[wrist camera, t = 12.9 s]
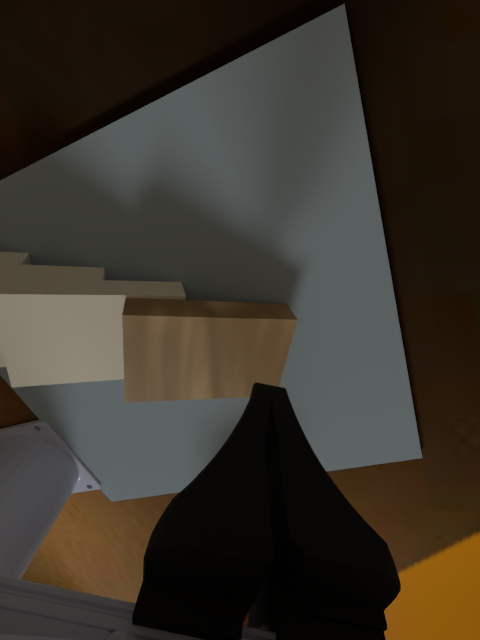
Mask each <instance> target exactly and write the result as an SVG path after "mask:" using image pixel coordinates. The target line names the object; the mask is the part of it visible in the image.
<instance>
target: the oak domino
mask: <svg viewBox="0 0 480 640" xmlns="http://www.w3.org/2000/svg"><path fill="white" fill-rule="evenodd" d="M297 321H298V319H297V318H296V317H295V315H294V314H293V312H292V311H291V309H290V308H289V307H288V305H287V304H270V303H245V302H221V301H196V300H171V299H146V298H125V303H124V308H123V314H122V325H123V357H124V389H125V403H126V402H149V401H173V400H197V399H220V398H244V397H250V396H251V392H252V387H253V384H254V383H256V382H257V383H262V384H268V385H273V386H278V387H279V384H280V380H281V377H282V373H283V370H284V366H285V363H286V359H287V356H288V352H289V349H290V345H291V342H292V338H293V335H294V332H295V328H296V325H297Z"/></svg>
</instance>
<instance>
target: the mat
mask: <svg viewBox="0 0 480 640" xmlns="http://www.w3.org/2000/svg"><path fill="white" fill-rule="evenodd" d="M0 252H20V253H29V255H30V261H31V265H47V266H74V267H101V268H105V280H117V281H162V282H181V283H182V286H183V289H184V292H185V295H186V299H185V300H196V301H221V302H245V303H270V304H287V305H288V307H289V308H290V309H291V311H292V312H293V314H294V315H295V317H296V318H297V319H298V321H297V325H296V328H295V332H294V335H293V338H292V342H291V345H290V349H289V352H288V356H287V359H286V363H285V366H284V370H283V373H282V377H281V380H280V384H279V387H283V388H285V389H286V390H287V393H288V396H289V399H290V402H291V404H292V407H293V410H294V412H295V415H296V417H297V419H298V421H299V424H300V426H301V428H302V430H303V432H304V434H305V436H306V438H307V440H308V442H309V444H310V446H311V448H312V449H313V451H314V453H315V455H316V456H317V458H318V460H319V461H320V463H321V464H322V466H323V468H324V469H325V471H333V470H340V469H347V468H355V467H362V466H369V465H376V464H383V463H390V462H397V461H404V460H411V459H418V458H422V453H421V447H420V441H419V436H418V430H417V424H416V418H415V412H414V406H413V401H412V395H411V389H410V383H409V377H408V371H407V366H406V360H405V354H404V348H403V342H402V336H401V331H400V325H399V319H398V313H397V307H396V301H395V296H394V290H393V284H392V278H391V272H390V266H389V261H388V255H387V249H386V243H385V237H384V231H383V226H382V220H381V214H380V208H379V202H378V196H377V191H376V185H375V179H374V173H373V167H372V161H371V156H370V150H369V144H368V138H367V132H366V126H365V121H364V115H363V109H362V103H361V97H360V91H359V85H358V80H357V74H356V68H355V62H354V56H353V50H352V45H351V39H350V33H349V27H348V21H347V15H346V10H345V4H343V5H341V6H339V7H337V8H335V9H333V10H331V11H329V12H327V13H325V14H323V15H321V16H320V17H318V18H316V19H314V20H312V21H310V22H308V23H306V24H304V25H302V26H300V27H298V28H296V29H294V30H292V31H290V32H288V33H286V34H284V35H283V36H281V37H279V38H277V39H275V40H273V41H271V42H269V43H267V44H265V45H263V46H261V47H259V48H257V49H255V50H253V51H251V52H249V53H247V54H246V55H244V56H242V57H240V58H238V59H236V60H234V61H232V62H230V63H228V64H226V65H224V66H222V67H220V68H218V69H216V70H214V71H212V72H211V73H209V74H207V75H205V76H203V77H201V78H199V79H197V80H195V81H193V82H191V83H189V84H187V85H185V86H183V87H181V88H179V89H177V90H175V91H174V92H172V93H170V94H168V95H166V96H164V97H162V98H160V99H158V100H156V101H154V102H152V103H150V104H148V105H146V106H144V107H142V108H140V109H139V110H137V111H135V112H133V113H131V114H129V115H127V116H125V117H123V118H121V119H119V120H117V121H115V122H113V123H111V124H109V125H107V126H105V127H103V128H102V129H100V130H98V131H96V132H94V133H92V134H90V135H88V136H86V137H84V138H82V139H80V140H78V141H76V142H74V143H72V144H70V145H68V146H67V147H65V148H63V149H61V150H59V151H57V152H55V153H53V154H51V155H49V156H47V157H45V158H43V159H41V160H39V161H37V162H35V163H33V164H31V165H30V166H28V167H26V168H24V169H22V170H20V171H18V172H16V173H14V174H12V175H10V176H8V177H6V178H4V179H2V180H0ZM0 376H1V377H2V378H3V379H4V380H5V381H6V382H7V383H8V385H9V386H10V387H11V383H10V379H9V375H8V372H7V368H6V367H0ZM11 388H12V389H13V390H14V391H15V393H16V394H17V395H18V396H19V397H20V398H21V399H22V401H23V402H24V403H25V404H26V405H27V406H28V407H29V409H30V410H31V411H32V412H33V413H34V414H35V415H36V417H37V418H38V419H39V420H40V421H41V420H43V421H46V422H48V423H49V424H50V425H51V426H52V428H53V429H54V430H55V431H56V432H57V433H58V435H59V436H60V437H61V438H62V439H63V440H64V441H65V443H66V444H67V445H68V446H69V447H70V448H71V450H72V451H73V452H74V453H75V454H76V455H77V456H78V458H79V459H80V460H81V461H82V462H83V463H84V465H85V466H86V467H87V468H88V469H89V470H90V471H91V473H92V474H93V475H94V476H95V477H96V478H97V480H98V481H99V482H100V483H101V488H100V489H101V491H102V492H103V493H104V494H105V495H106V496H107V497H108V499H109V500H110V501H111V502H113V501H120V500H127V499H134V498H142V497H149V496H156V495H163V494H170V493H177V492H181V491H182V490H183V489H184V488H185V487H186V486H187V485H188V484H189V483H190V482H192V481H193V479H194V478H195V477H196V476H197V475H198V474H199V473H200V472H201V471H202V470H203V469H204V468H205V467H206V466H207V464H208V463H209V462H210V461H211V460H212V459H213V457H214V456H215V455H216V454H217V452H218V451H219V450H220V449H221V447H222V446H223V444H224V443H225V442H226V440H227V439H228V437H229V436H230V434H231V433H232V431H233V430H234V428H235V426H236V425H237V423H238V421H239V420H240V418H241V416H242V414H243V412H244V410H245V408H246V406H247V404H248V402H249V399H250V397H244V398H220V399H197V400H173V401H149V402H126V403H125V389H124V379H120V380H106V381H93V382H79V383H66V384H52V385H39V386H25V387H11Z"/></svg>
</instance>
